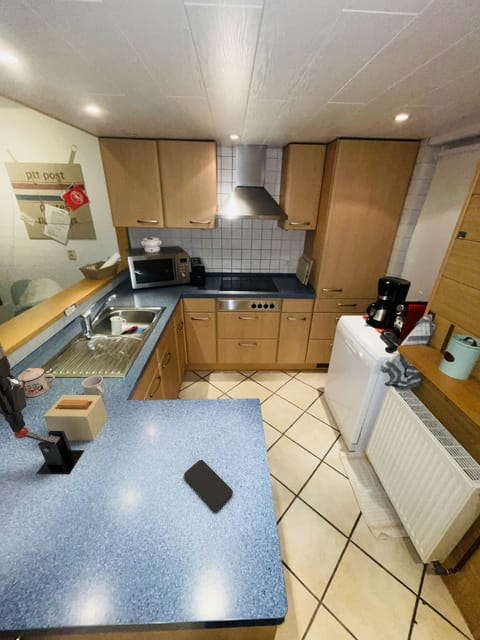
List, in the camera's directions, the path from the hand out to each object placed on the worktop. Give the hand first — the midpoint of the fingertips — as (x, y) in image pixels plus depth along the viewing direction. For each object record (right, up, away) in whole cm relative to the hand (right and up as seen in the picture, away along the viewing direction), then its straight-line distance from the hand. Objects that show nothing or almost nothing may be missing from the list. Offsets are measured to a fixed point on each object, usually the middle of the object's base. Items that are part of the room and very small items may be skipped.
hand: (19, 428), depth 73 cm
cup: (+4, -2, +34) cm, 34 cm away
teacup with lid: (-23, +1, +37) cm, 44 cm away
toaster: (+7, -9, +18) cm, 21 cm away
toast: (+7, -7, +17) cm, 20 cm away
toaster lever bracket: (+8, -14, +7) cm, 17 cm away
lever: (+3, -5, +2) cm, 6 cm away
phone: (+55, -18, +1) cm, 58 cm away
